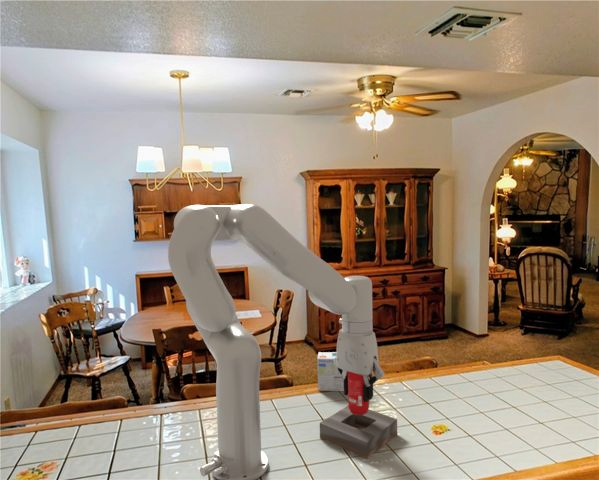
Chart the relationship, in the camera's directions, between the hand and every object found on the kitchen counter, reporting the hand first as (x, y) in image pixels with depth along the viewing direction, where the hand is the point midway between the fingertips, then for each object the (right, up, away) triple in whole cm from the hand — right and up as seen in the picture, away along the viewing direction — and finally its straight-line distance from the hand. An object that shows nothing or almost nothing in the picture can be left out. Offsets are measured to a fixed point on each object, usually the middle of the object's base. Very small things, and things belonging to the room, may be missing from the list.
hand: (358, 395), depth 108 cm
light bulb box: (-3, -9, +31) cm, 32 cm away
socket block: (0, -11, +1) cm, 11 cm away
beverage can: (0, -4, 0) cm, 4 cm away
